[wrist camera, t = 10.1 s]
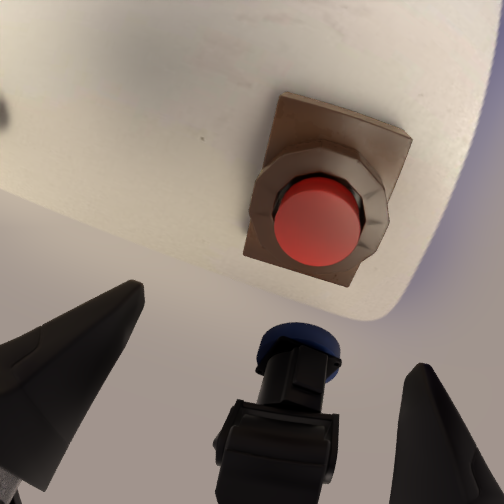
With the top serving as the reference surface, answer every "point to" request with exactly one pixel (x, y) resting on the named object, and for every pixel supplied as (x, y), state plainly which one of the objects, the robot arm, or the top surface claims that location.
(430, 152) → the top surface
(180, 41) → the top surface
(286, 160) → the button block
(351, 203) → the button
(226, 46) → the top surface
